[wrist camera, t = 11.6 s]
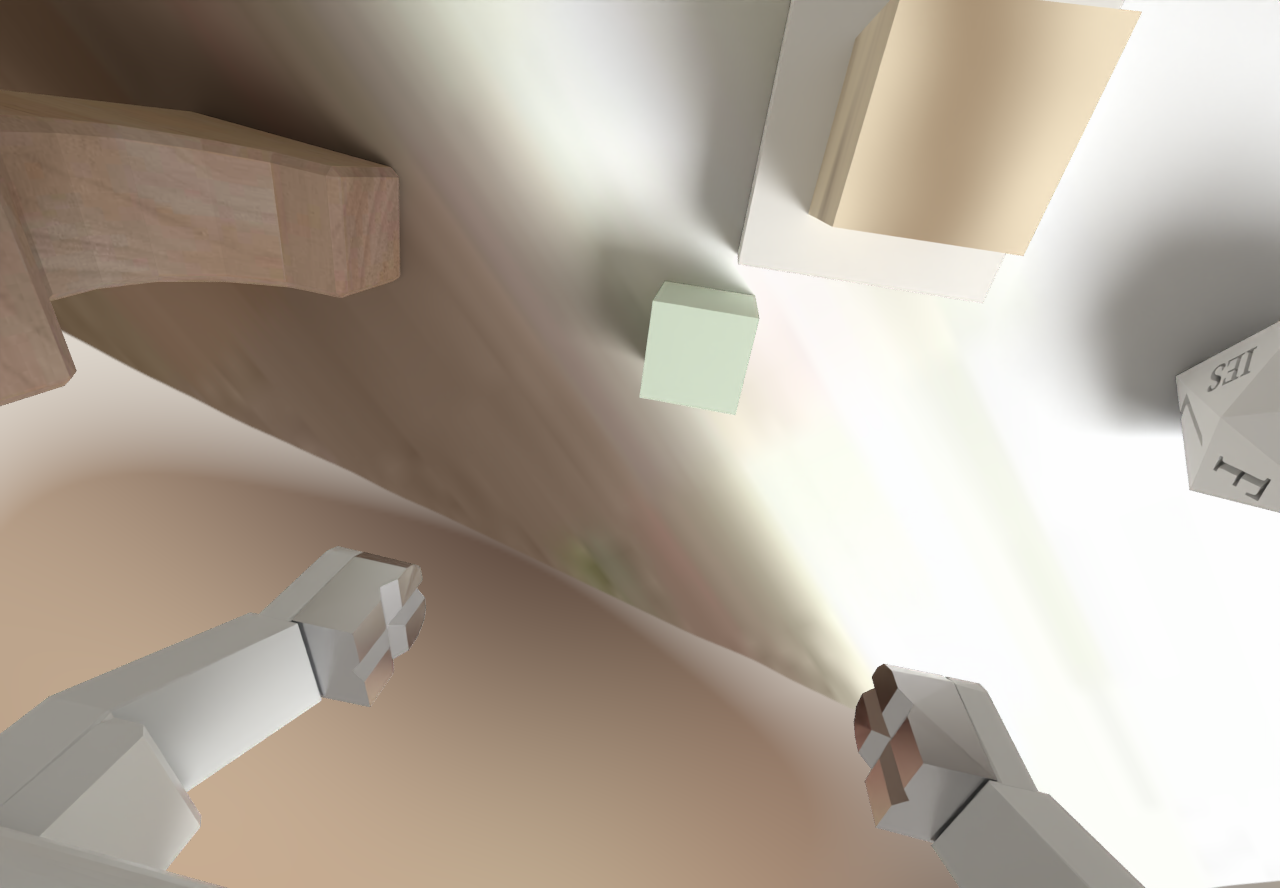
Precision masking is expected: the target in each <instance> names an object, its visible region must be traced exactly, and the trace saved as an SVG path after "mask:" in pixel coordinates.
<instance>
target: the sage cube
mask: <svg viewBox="0 0 1280 888" xmlns="http://www.w3.org/2000/svg"><path fill="white" fill-rule="evenodd" d="M758 322H759V314H758V309H757V303H756V298H755V296H754V295H748V294H742V293H736V292H730V291H724V290H718V289H712V288H706V287H699V286H693V285H687V284H681V283H675V282H669V281H665V282H664V283H663V285H662V287H661V288H660V290H659V292H658V293H657V295H656V296H655V298H654V300H653V303H652V310H651V318H650V325H649V332H648V339H647V347H646V354H645V361H644V368H643V376H642V383H641V390H640V398H646V399H651V400H656V401H662V402H667V403H673V404H678V405H684V406H689V407H694V408H700V409H705V410H711V411H716V412H721V413H727V414H732V415H735V414H736V410H737V406H738V402H739V398H740V394H741V390H742V386H743V382H744V378H745V374H746V370H747V366H748V362H749V358H750V354H751V350H752V346H753V342H754V338H755V334H756V330H757V326H758Z"/></svg>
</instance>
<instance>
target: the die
mask: <svg viewBox="0 0 1280 888" xmlns="http://www.w3.org/2000/svg"><path fill="white" fill-rule="evenodd" d="M1176 384H1177V392H1178V400H1179V408H1180V413H1182V414H1183V415H1182V418H1181V425H1182V433H1183V441H1184V449H1185V457H1186V465H1187V473H1188V481H1189V489H1190V490H1191V491H1195V492H1199V493H1203V494H1207V495H1211V496H1215V497H1219V498H1223V499H1227V500H1231V501H1235V502H1239V503H1243V504H1247V505H1251V506H1255V507H1259V508H1263V509H1267V510H1271V511H1275V512H1279V513H1280V321H1278V322H1277V323H1275V324H1273V325H1271V326H1269V327H1267V328H1265V329H1263V330H1262V331H1260V332H1258V333H1256V334H1254V335H1252V336H1250V337H1248V338H1247V339H1245V340H1243V341H1241V342H1239V343H1237V344H1235V345H1233V346H1232V347H1230V348H1228V349H1226V350H1224V351H1222V352H1220V353H1218V354H1216V355H1215V356H1213V357H1211V358H1209V359H1207V360H1205V361H1203V362H1201V363H1200V364H1198V365H1196V366H1194V367H1192V368H1190V369H1188V370H1186V371H1185V372H1183V373H1181V374H1179V375H1177V376H1176Z"/></svg>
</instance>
